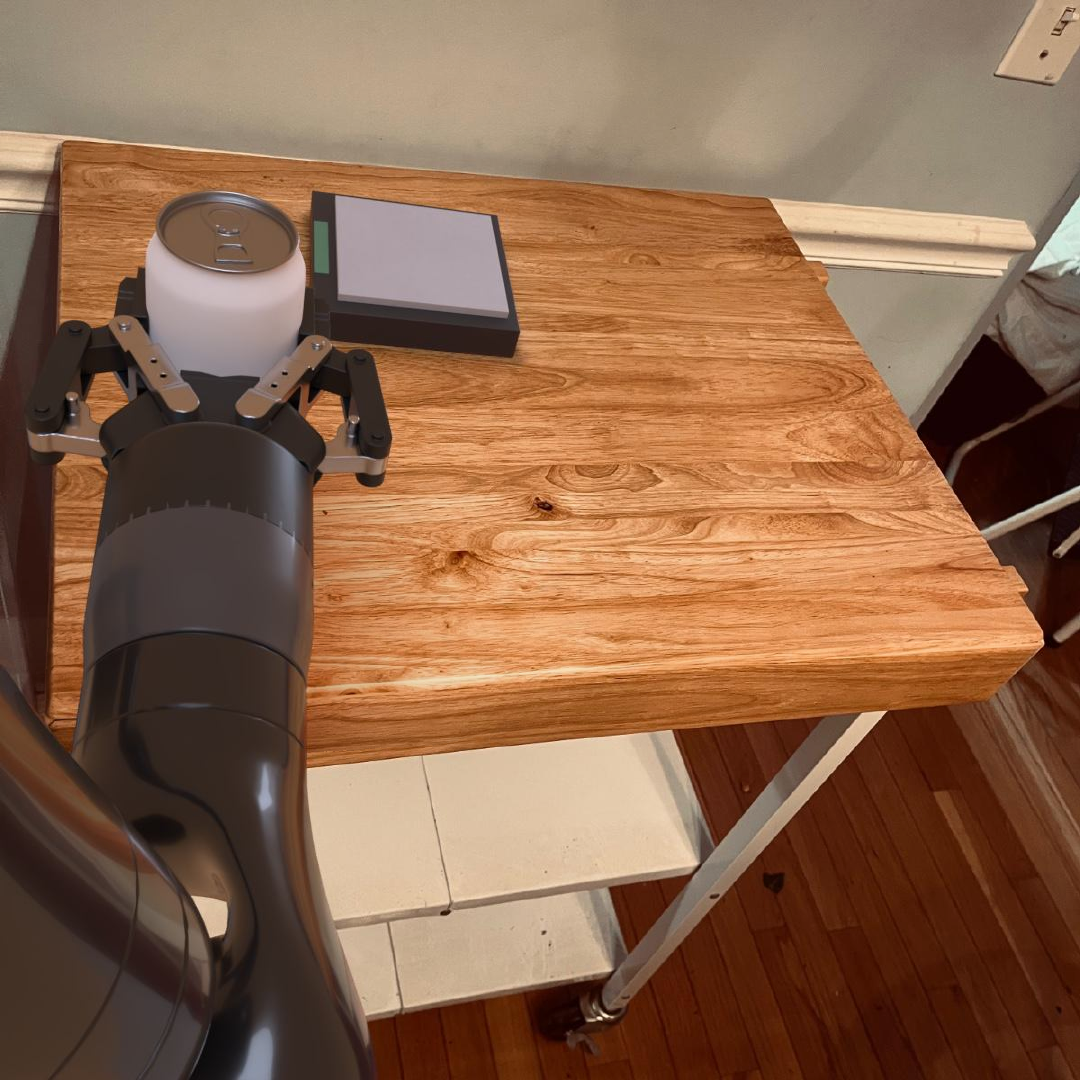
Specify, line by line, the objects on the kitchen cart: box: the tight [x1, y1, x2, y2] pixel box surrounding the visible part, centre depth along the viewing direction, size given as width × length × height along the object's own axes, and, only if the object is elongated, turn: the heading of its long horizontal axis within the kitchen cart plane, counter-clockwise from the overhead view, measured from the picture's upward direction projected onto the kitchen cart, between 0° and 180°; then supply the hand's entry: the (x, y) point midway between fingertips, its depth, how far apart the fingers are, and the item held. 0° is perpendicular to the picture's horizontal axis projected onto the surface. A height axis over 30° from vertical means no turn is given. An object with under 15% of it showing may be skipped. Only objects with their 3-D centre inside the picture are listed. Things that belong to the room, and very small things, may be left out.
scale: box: [309, 190, 521, 358], centre depth 77 cm, size 14×14×3 cm
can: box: [144, 189, 307, 380], centre depth 48 cm, size 6×6×12 cm
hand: (227, 293), depth 48 cm, fingers closed on can, 6 cm apart
